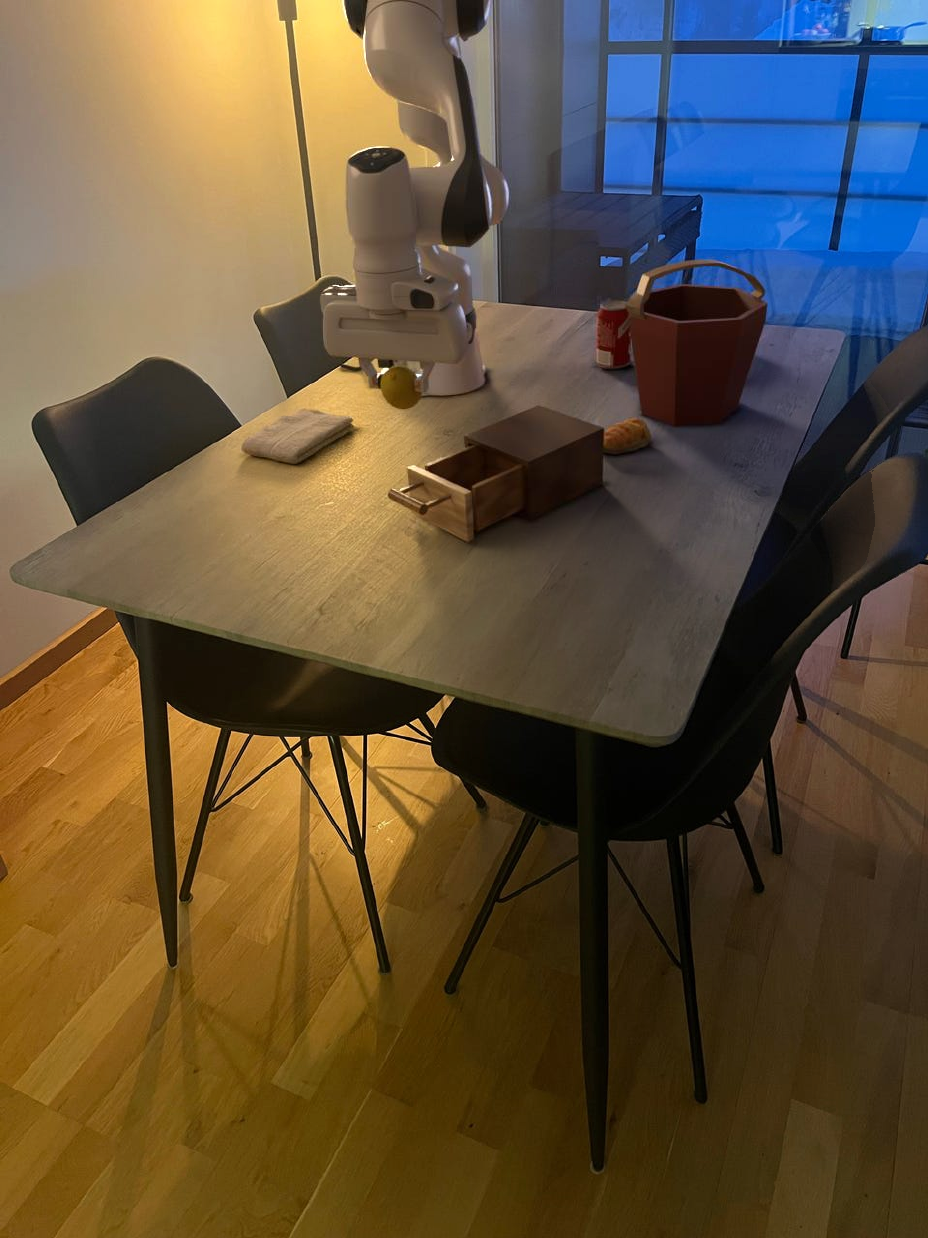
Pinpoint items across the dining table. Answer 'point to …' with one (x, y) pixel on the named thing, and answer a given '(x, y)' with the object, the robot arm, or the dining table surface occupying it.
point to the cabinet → (547, 455)
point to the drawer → (464, 491)
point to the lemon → (399, 387)
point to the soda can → (613, 335)
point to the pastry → (626, 436)
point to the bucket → (693, 344)
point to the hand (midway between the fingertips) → (399, 389)
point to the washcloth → (297, 435)
